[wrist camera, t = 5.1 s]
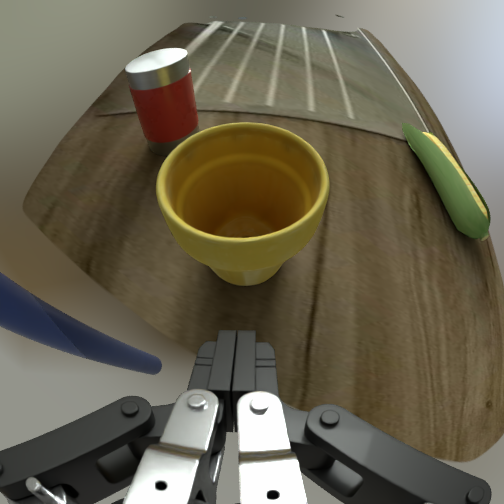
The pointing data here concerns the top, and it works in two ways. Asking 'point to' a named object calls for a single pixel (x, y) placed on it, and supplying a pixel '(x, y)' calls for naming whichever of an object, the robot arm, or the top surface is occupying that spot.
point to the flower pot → (243, 198)
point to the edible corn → (451, 184)
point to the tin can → (164, 98)
